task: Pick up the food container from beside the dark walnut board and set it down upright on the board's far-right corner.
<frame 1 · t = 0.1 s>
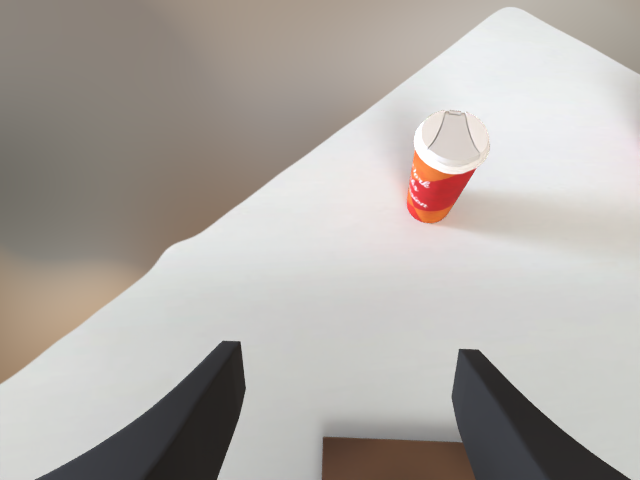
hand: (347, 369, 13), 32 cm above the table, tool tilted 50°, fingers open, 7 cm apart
paper cup: (427, 206, 52), on the table
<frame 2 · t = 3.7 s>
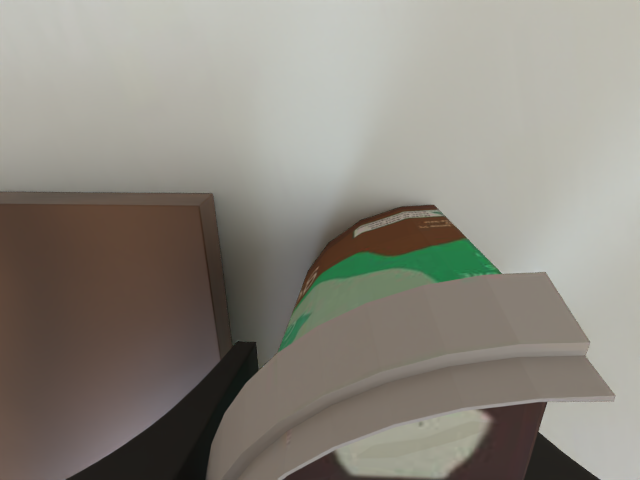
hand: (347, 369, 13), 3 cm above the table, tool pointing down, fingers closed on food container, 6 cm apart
walnut board: (81, 406, 19), on the table
food container: (345, 308, 16), on the table, touching gripper
when the fingers open (5 cm above the table, at t = 8.9 s): food container stays where it is, resting on walnut board.
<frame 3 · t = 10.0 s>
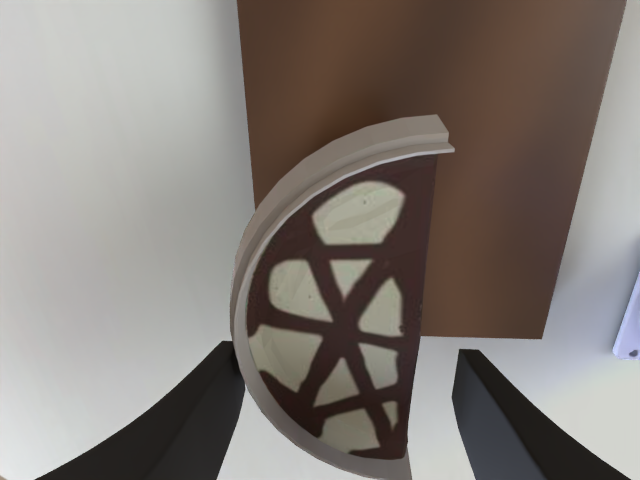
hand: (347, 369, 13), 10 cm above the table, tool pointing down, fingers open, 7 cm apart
walnut board: (410, 140, 20), on the table
food container: (329, 221, 21), point 1 cm above the table, touching gripper, walnut board
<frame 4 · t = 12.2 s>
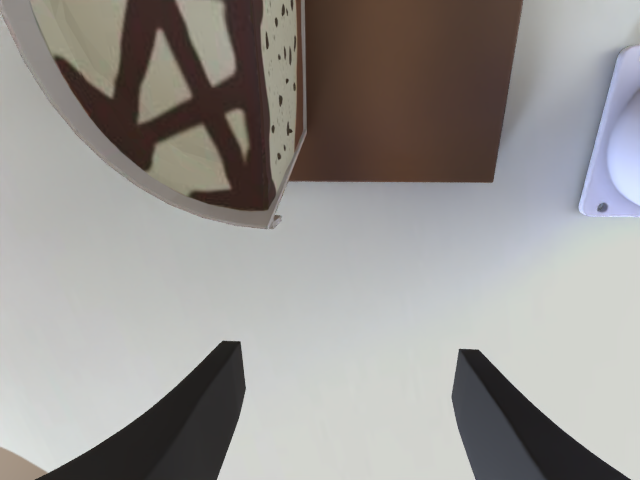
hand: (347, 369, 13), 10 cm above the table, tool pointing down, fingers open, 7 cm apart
food container: (236, 23, 17), point 1 cm above the table, touching walnut board
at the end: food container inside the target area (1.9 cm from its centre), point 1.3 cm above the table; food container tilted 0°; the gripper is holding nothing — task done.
